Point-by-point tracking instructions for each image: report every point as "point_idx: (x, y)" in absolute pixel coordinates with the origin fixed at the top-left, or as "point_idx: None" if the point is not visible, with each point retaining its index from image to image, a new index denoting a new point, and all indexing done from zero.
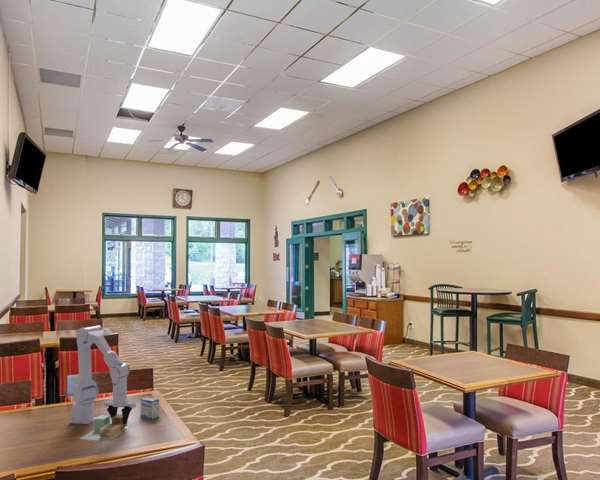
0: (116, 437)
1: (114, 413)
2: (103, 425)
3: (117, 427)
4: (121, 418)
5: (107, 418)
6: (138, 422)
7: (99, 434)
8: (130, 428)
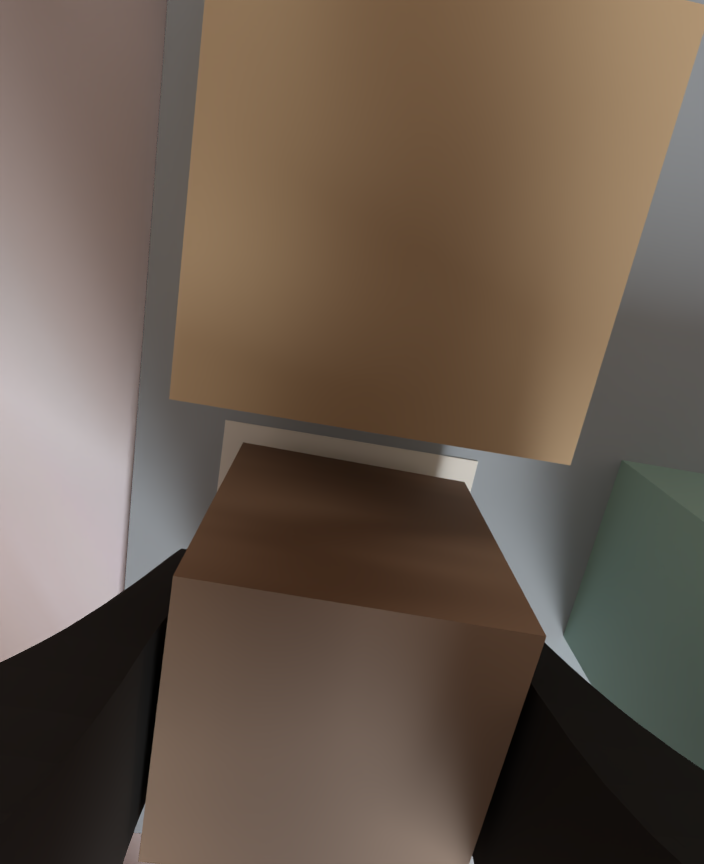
0: (182, 68)
1: (534, 850)
2: (683, 507)
3: (191, 224)
4: (174, 587)
5: (692, 722)
6: None
7: (647, 262)
8: (129, 576)
